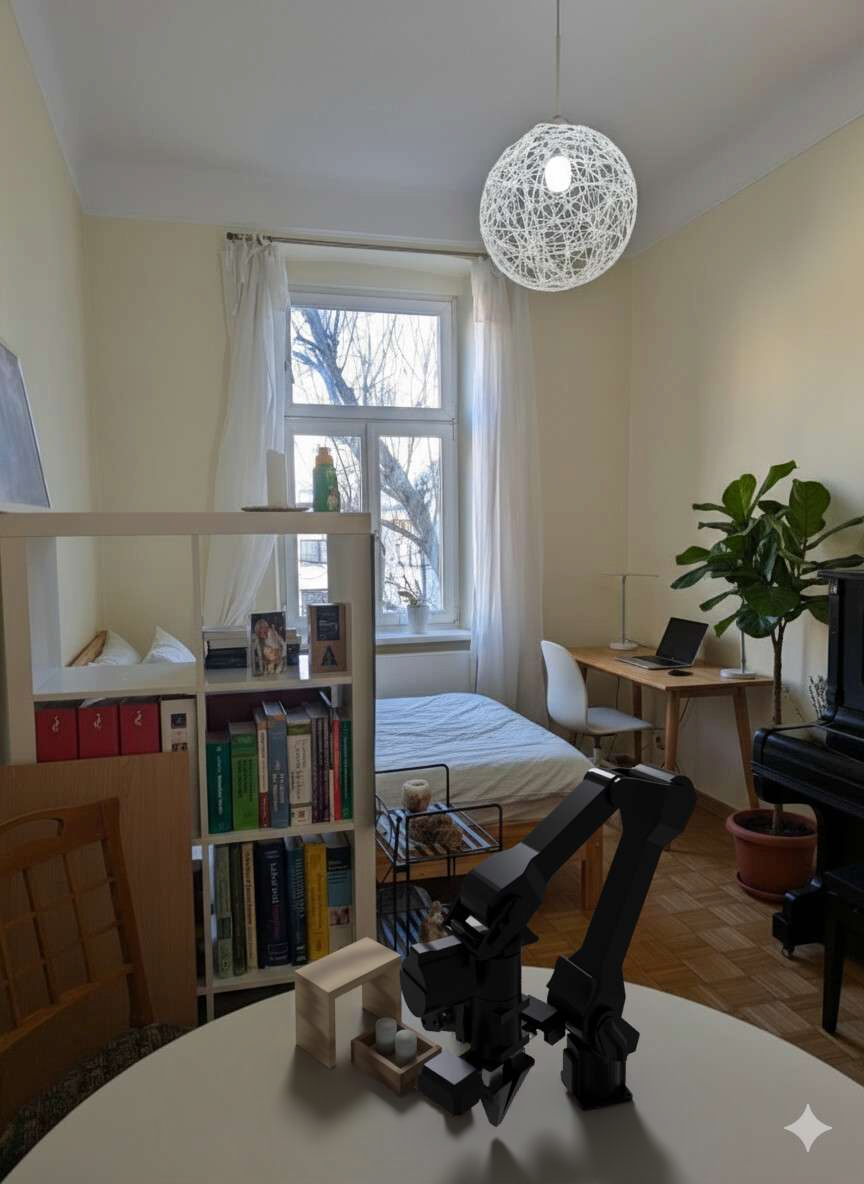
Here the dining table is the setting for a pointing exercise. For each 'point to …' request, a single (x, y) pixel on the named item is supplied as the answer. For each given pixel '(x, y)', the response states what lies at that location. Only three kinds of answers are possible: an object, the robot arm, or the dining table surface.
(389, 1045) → the wooden box with handle
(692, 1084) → the dining table surface
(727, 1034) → the dining table surface
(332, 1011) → the shelf
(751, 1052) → the dining table surface
